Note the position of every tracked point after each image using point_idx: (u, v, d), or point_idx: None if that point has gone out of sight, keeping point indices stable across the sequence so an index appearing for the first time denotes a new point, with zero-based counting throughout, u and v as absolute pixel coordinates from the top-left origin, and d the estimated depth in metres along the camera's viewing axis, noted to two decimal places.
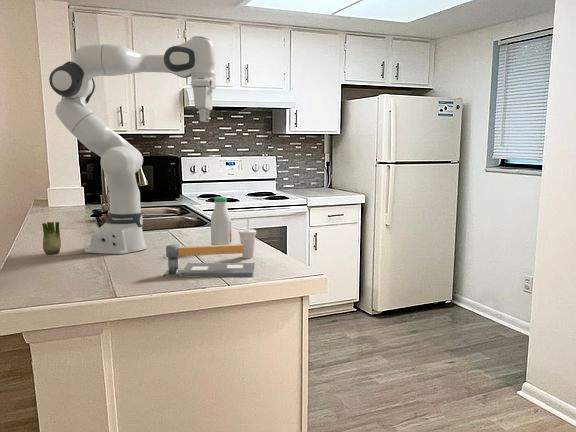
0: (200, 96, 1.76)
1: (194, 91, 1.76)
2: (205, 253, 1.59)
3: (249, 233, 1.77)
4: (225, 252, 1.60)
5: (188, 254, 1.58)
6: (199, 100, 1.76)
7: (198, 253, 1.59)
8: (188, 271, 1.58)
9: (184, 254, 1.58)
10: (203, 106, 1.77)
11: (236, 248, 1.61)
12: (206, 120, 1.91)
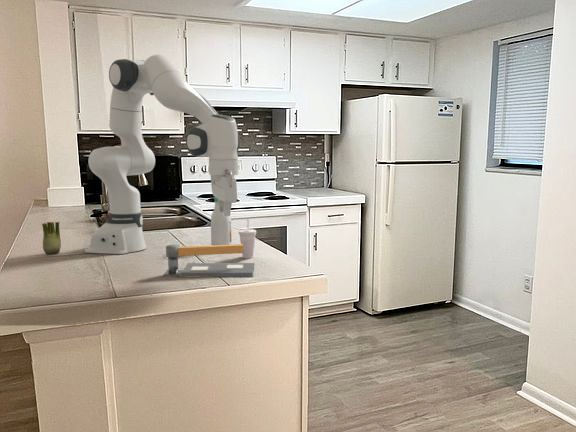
0: None
1: None
2: (205, 253, 1.59)
3: (249, 233, 1.77)
4: (225, 252, 1.60)
5: (188, 254, 1.58)
6: None
7: (198, 253, 1.59)
8: (188, 271, 1.58)
9: (184, 254, 1.58)
10: None
11: (236, 248, 1.61)
12: None
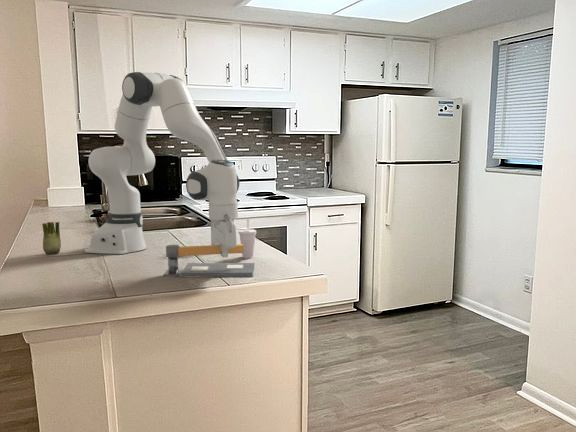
0: None
1: None
2: (205, 253, 1.59)
3: (249, 233, 1.77)
4: None
5: (188, 254, 1.58)
6: None
7: (198, 253, 1.59)
8: (188, 271, 1.58)
9: (184, 254, 1.58)
10: None
11: (236, 248, 1.61)
12: None
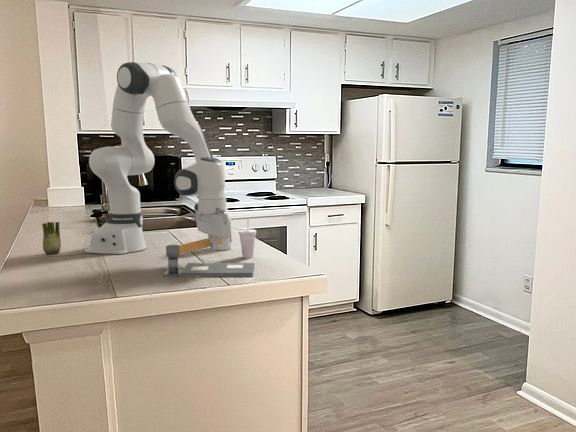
0: None
1: None
2: (197, 248, 1.66)
3: (249, 233, 1.77)
4: None
5: (186, 251, 1.62)
6: None
7: (193, 249, 1.64)
8: (188, 271, 1.58)
9: (183, 252, 1.61)
10: None
11: None
12: None
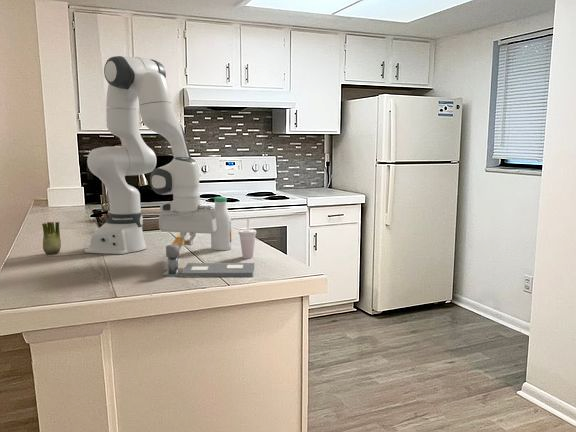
0: None
1: None
2: (180, 247, 1.68)
3: (249, 233, 1.77)
4: (182, 243, 1.74)
5: None
6: None
7: (179, 248, 1.66)
8: (188, 271, 1.58)
9: None
10: None
11: None
12: None
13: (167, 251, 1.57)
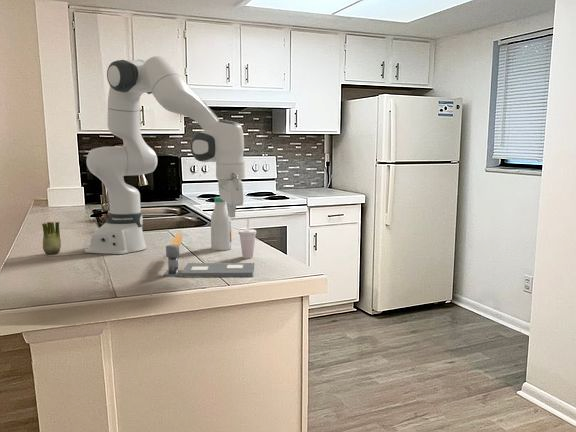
0: None
1: None
2: None
3: (249, 233, 1.77)
4: (180, 243, 1.74)
5: None
6: None
7: None
8: (188, 271, 1.58)
9: None
10: None
11: None
12: None
13: (167, 251, 1.56)
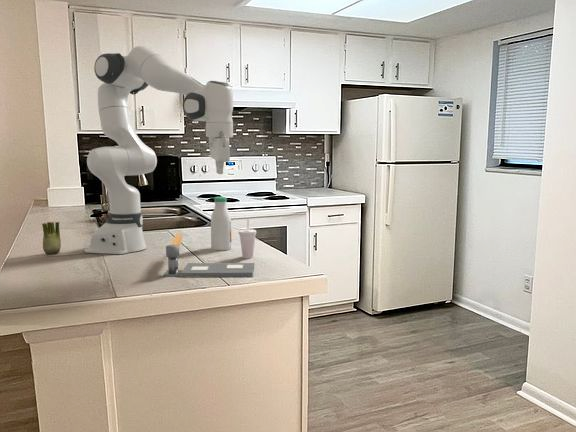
0: None
1: None
2: None
3: (249, 233, 1.77)
4: (180, 243, 1.74)
5: None
6: None
7: None
8: (188, 271, 1.58)
9: None
10: None
11: None
12: None
13: (167, 251, 1.56)
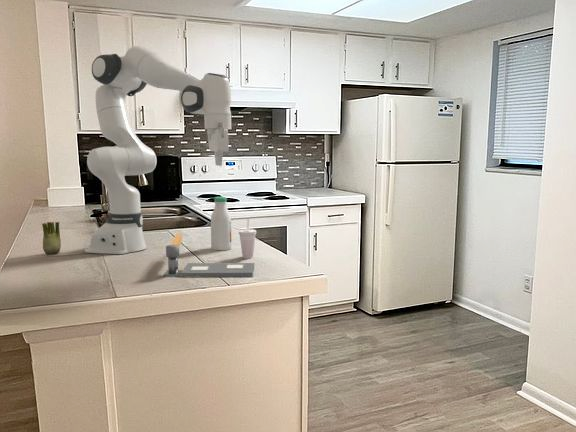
0: None
1: None
2: None
3: (249, 233, 1.77)
4: (180, 243, 1.74)
5: None
6: None
7: None
8: (188, 271, 1.58)
9: None
10: None
11: None
12: None
13: (167, 251, 1.56)
